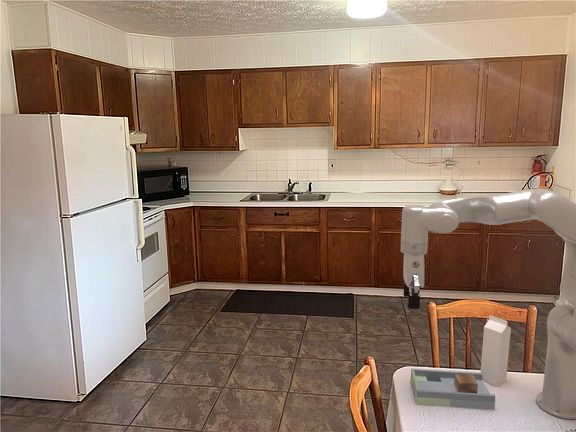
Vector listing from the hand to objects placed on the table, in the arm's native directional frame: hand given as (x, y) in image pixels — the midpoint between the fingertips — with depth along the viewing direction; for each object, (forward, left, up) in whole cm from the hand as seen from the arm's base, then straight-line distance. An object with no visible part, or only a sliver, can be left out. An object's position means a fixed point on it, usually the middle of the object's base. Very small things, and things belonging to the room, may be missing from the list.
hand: (411, 302), depth 132 cm
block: (-18, -2, -29) cm, 34 cm away
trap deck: (-14, -2, -31) cm, 34 cm away
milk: (-30, -13, -31) cm, 45 cm away
